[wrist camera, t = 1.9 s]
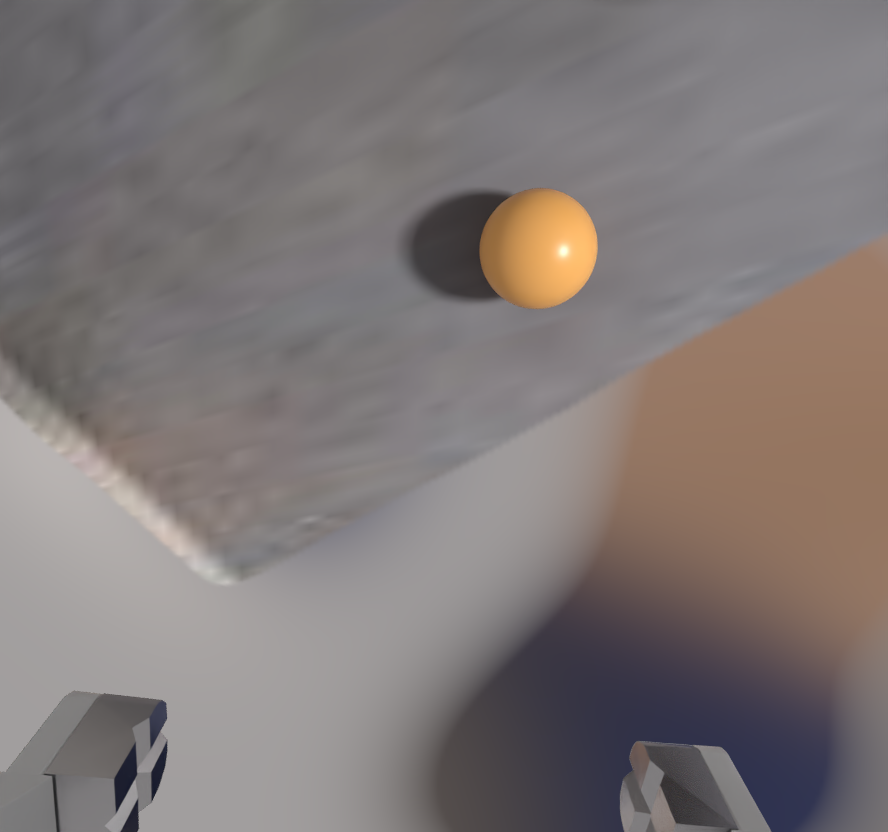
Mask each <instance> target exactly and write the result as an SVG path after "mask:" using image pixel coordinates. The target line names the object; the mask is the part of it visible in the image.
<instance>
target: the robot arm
mask: <svg viewBox="0 0 888 832" xmlns="http://www.w3.org/2000/svg"><path fill="white" fill-rule="evenodd" d="M166 709H167V708H166V702H164V701H163V700H156V699H148V698H139V697H130V696H121V695H112V694H97V693H88V692H80V691H73V692H71V693H69V694H68V695H66V696H65V697H64V698H63V699H62V701H61V702H60V703H59V704H58V706H57V707H56V708H55V709H54V711H53V712H52V713H51V714H50V716H49V717H48V718H47V720H46V721H45V722H44V724H43V725H42V726H41V727H40V729H39V730H38V731H37V733H36V734H35V735H34V736H33V737H32V739H31V740H30V741H29V743H28V744H27V745H26V747H25V748H24V749H23V750H22V752H21V753H20V754H19V755H18V757H17V758H16V760H15V761H14V762H13V763H12V764H11V766H10V767H9V768H8V770H7V771H6V772H0V832H137V831H138V829H139V822H138V821H139V819H138V818H139V816H138V813H139V812H140V811H141V810H142V809H144V808H145V807H146V806H148V805H149V804H150V803H151V802H152V801H153V798H154V796H155V794H156V792H157V790H158V788H159V785H160V782H161V779H162V775H163V772H164V769H165V764H166V758H167V739H166V737H165V736H164V735H163V734H162V733H161V729H162V727H163V726H164V723H165V722H166V720H167V710H166ZM629 759H630V761H631V764H632V767H633V771H632V772H630V773H629V774H628V775H627V776H625V777H624V779H623V784H622V788H621V792H620V813H621V819H622V825H623V828H624V831H625V832H771V830H770V828H769V827H768V825H767V823H766V821H765V820H764V818H763V816H762V814H761V813H760V811H759V809H758V807H757V805H756V804H755V802H754V800H753V798H752V796H751V795H750V793H749V791H748V789H747V788H746V786H745V785H744V783H743V780H742V779H741V777H740V775H739V773H738V772H737V770H736V768H735V766H734V764H733V763H732V761H731V759H730V757H729V756H728V754H727V752H726V751H724V750H723V749H722V748H721V747H711V746H698V745H692V746H690V745H682V744H668V743H656V742H642V741H637V742H636V743H635V744H634V746H633V747H632V750H631V754H630V757H629Z"/></svg>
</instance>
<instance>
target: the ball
mask: <svg viewBox="0 0 888 832" xmlns="http://www.w3.org/2000/svg"><path fill="white" fill-rule="evenodd" d="M479 252H480V262H481V267H482V270H483V273H484V275H485V277H486V279H487V281H488V282H489V284H490V285H491V287H492V288H493V289H494V290H495V292H496V293H497V294H498V295H500V296H501V297H502V298H503V299H505V300H506V301H508V302H510V303H512V304H514V305H517V306H519V307H523V308H528V309H544V308H549V307H553V306H556V305H559V304H561V303H563V302H565V301H567V300H568V299H570V298H571V297H573V296H574V295H575V294H576V293H577V292H578V291H579V290H580V289H581V288H582V287H583V286H584V284H585V283H586V282H587V280H588V278H589V277H590V275H591V273H592V270H593V268H594V265H595V261H596V256H597V235H596V231H595V227H594V225H593V222H592V220H591V218H590V216H589V215H588V213H587V212H586V210H585V209H584V208H583V207H582V206H581V205H580V204H579V203H578V202H577V201H576V200H574V199H573V198H572V197H570V196H568V195H567V194H565V193H563V192H560V191H557V190H553V189H547V188H535V189H529V190H524V191H522V192H519V193H516V194H515V195H513V196H511V197H509V198H508V199H506V200H505V201H503V202H502V203H501V204H500V205H499V206H498V207H497V208H496V209H495V210H494V212H493V213H492V214H491V216H490V217H489V219H488V220H487V222H486V224H485V227H484V229H483V232H482V235H481V240H480V250H479Z"/></svg>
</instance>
